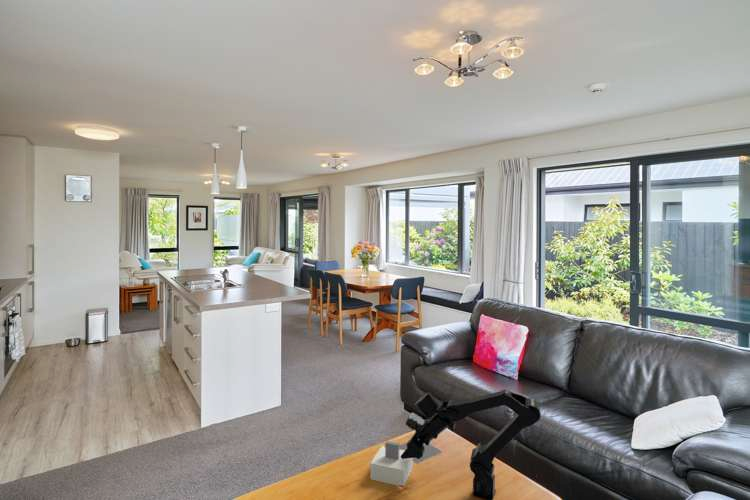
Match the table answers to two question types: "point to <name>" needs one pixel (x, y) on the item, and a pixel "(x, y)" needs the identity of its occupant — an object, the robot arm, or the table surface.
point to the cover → (391, 465)
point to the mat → (427, 454)
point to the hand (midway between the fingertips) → (404, 450)
